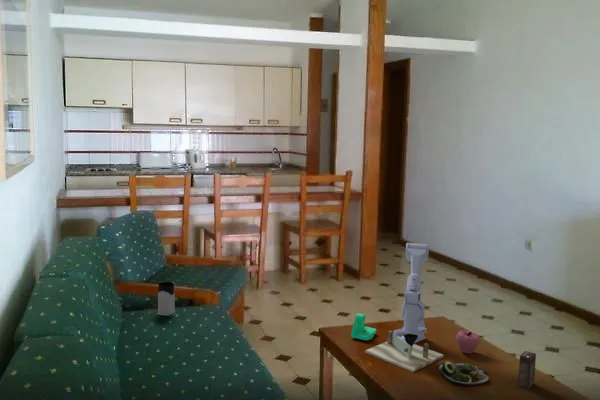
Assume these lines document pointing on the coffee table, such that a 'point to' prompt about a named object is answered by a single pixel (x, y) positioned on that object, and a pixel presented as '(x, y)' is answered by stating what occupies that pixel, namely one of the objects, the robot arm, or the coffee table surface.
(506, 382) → the coffee table surface
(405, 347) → the door
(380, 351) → the door frame board
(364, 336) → the camera mount
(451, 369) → the salad plate
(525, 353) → the box
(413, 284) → the robot arm
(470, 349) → the apple
